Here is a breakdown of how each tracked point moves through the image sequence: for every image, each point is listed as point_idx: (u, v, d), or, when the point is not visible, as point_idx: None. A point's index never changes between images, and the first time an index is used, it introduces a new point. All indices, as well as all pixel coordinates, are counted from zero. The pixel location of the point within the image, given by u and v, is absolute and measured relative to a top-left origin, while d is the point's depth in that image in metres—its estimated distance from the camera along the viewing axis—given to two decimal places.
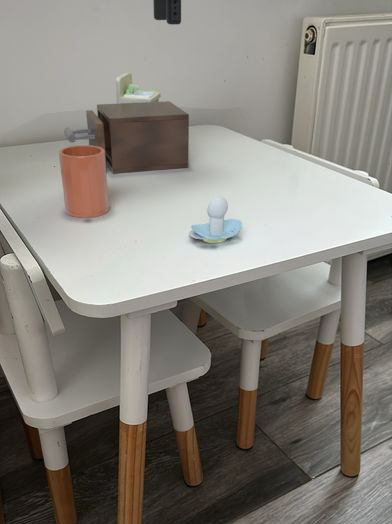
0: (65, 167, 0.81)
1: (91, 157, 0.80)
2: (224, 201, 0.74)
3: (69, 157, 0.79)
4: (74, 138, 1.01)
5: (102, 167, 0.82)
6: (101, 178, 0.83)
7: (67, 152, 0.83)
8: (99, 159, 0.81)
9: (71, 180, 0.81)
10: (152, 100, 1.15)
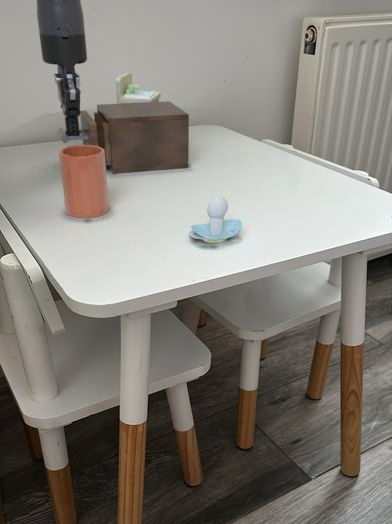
0: (65, 167, 0.81)
1: (91, 157, 0.80)
2: (224, 201, 0.74)
3: (69, 157, 0.79)
4: (67, 138, 1.00)
5: (102, 167, 0.82)
6: (101, 178, 0.83)
7: (67, 152, 0.83)
8: (99, 159, 0.81)
9: (71, 180, 0.81)
10: (152, 100, 1.15)
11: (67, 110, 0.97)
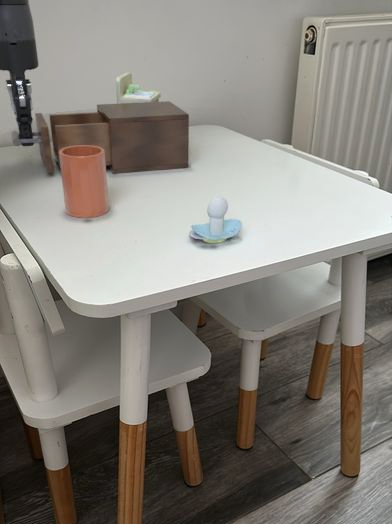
0: (65, 167, 0.81)
1: (91, 157, 0.80)
2: (224, 201, 0.74)
3: (69, 157, 0.79)
4: (19, 141, 0.98)
5: (102, 167, 0.82)
6: (101, 178, 0.83)
7: (67, 152, 0.83)
8: (99, 159, 0.81)
9: (71, 180, 0.81)
10: (152, 100, 1.15)
11: (18, 117, 0.95)
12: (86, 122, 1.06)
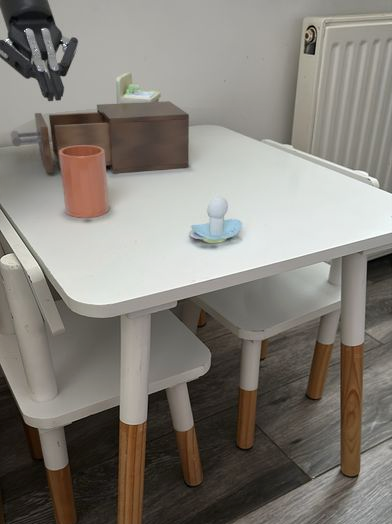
0: (65, 167, 0.81)
1: (91, 157, 0.80)
2: (224, 201, 0.74)
3: (69, 157, 0.79)
4: (19, 141, 0.98)
5: (102, 167, 0.82)
6: (101, 178, 0.83)
7: (67, 152, 0.83)
8: (99, 159, 0.81)
9: (71, 180, 0.81)
10: (152, 100, 1.15)
11: (70, 60, 0.88)
12: (85, 122, 1.06)
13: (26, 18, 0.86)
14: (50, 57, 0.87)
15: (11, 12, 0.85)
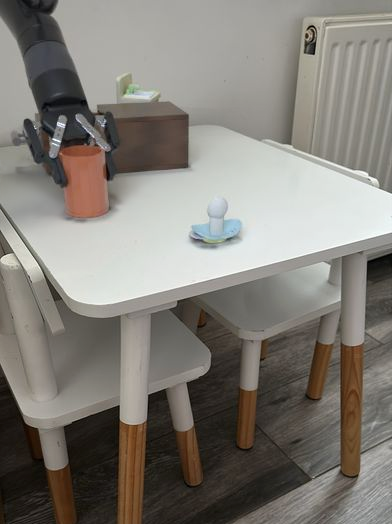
0: (65, 167, 0.81)
1: (91, 157, 0.80)
2: (224, 201, 0.74)
3: (69, 157, 0.79)
4: (19, 141, 0.98)
5: (102, 167, 0.82)
6: (101, 178, 0.83)
7: (66, 152, 0.83)
8: (99, 159, 0.81)
9: (71, 180, 0.81)
10: (152, 100, 1.15)
11: (118, 136, 0.86)
12: None
13: (59, 103, 0.82)
14: (97, 140, 0.84)
15: (44, 99, 0.81)
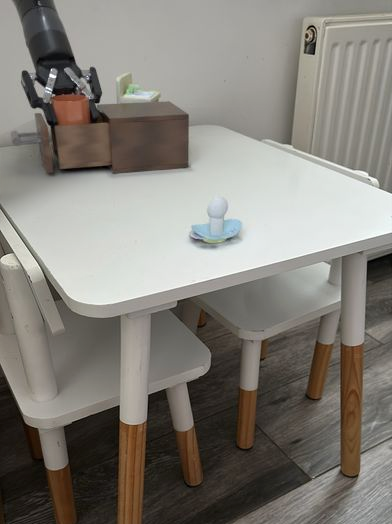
0: (56, 110, 0.98)
1: (77, 102, 0.97)
2: (224, 201, 0.74)
3: (59, 101, 0.97)
4: (19, 141, 0.98)
5: (86, 111, 0.99)
6: (86, 120, 1.00)
7: (57, 100, 1.01)
8: (84, 104, 0.98)
9: (61, 121, 0.99)
10: (152, 100, 1.15)
11: None
12: None
13: (51, 59, 1.00)
14: (83, 90, 1.01)
15: (39, 54, 0.99)
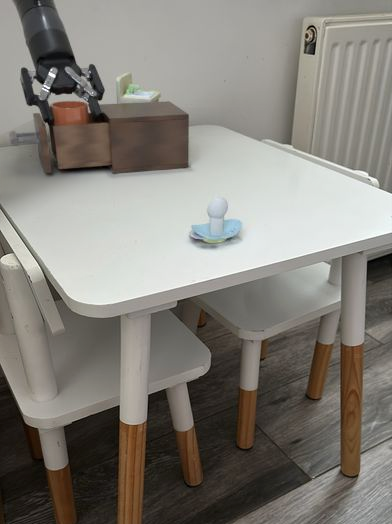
0: (55, 117, 0.99)
1: (76, 108, 0.98)
2: (224, 201, 0.74)
3: (58, 108, 0.97)
4: (17, 142, 0.98)
5: (85, 118, 1.00)
6: None
7: (56, 106, 1.01)
8: (83, 110, 0.99)
9: None
10: (152, 100, 1.15)
11: (101, 84, 1.03)
12: None
13: (51, 58, 1.00)
14: (85, 87, 1.01)
15: (39, 53, 0.98)
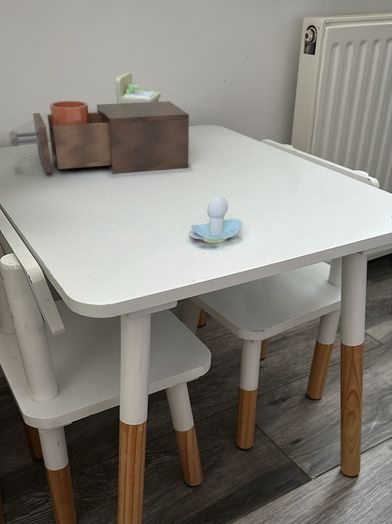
0: (55, 117, 0.99)
1: (76, 108, 0.98)
2: (224, 201, 0.74)
3: (58, 108, 0.97)
4: (17, 142, 0.98)
5: (85, 118, 1.00)
6: None
7: (56, 106, 1.01)
8: (83, 110, 0.99)
9: None
10: (152, 100, 1.15)
11: None
12: None
13: None
14: None
15: None
